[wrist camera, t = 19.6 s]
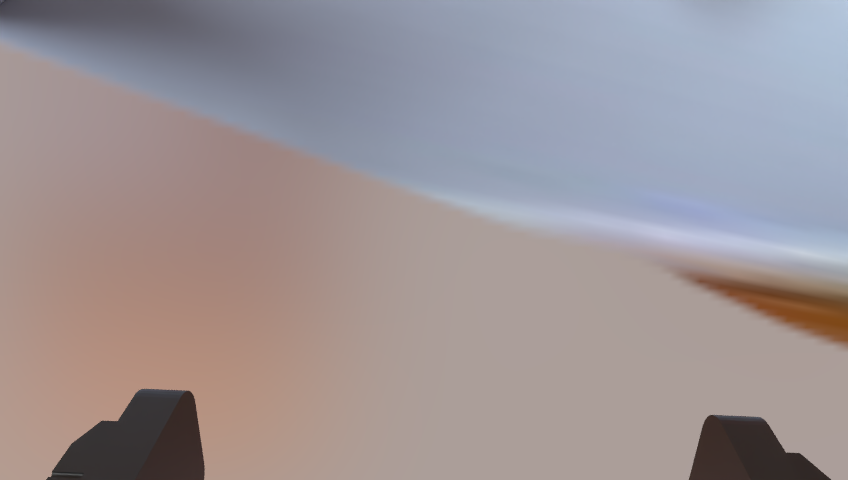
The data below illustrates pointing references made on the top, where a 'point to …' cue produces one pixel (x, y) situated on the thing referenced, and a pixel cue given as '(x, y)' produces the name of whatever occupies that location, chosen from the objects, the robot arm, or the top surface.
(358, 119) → the top surface
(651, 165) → the top surface
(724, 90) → the top surface
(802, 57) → the top surface
